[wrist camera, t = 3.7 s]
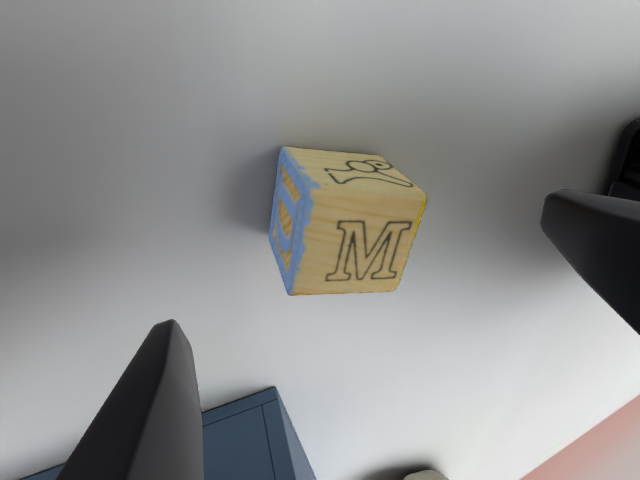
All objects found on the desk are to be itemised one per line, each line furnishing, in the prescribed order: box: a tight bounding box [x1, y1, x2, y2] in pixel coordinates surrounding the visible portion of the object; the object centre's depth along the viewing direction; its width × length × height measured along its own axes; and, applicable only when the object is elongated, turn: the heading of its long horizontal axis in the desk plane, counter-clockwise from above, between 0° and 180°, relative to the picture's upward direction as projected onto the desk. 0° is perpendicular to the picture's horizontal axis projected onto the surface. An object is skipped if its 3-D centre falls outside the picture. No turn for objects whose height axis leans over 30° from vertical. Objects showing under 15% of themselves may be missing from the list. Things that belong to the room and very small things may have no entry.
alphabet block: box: [268, 146, 427, 296], centre depth 11 cm, size 3×3×3 cm
